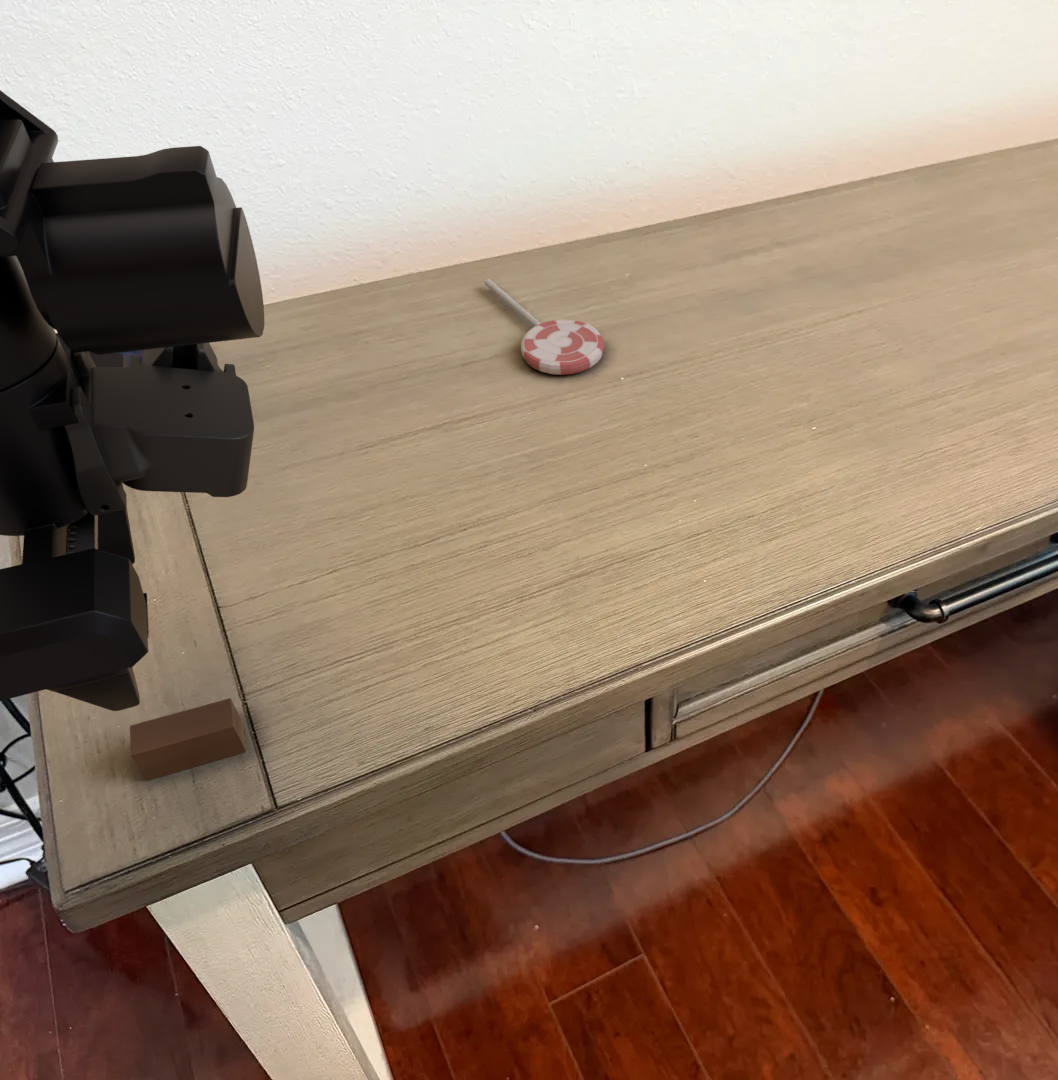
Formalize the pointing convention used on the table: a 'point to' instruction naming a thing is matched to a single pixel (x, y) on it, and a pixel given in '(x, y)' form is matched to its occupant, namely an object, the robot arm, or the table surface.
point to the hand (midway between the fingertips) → (125, 630)
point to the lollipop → (556, 342)
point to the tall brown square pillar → (187, 739)
